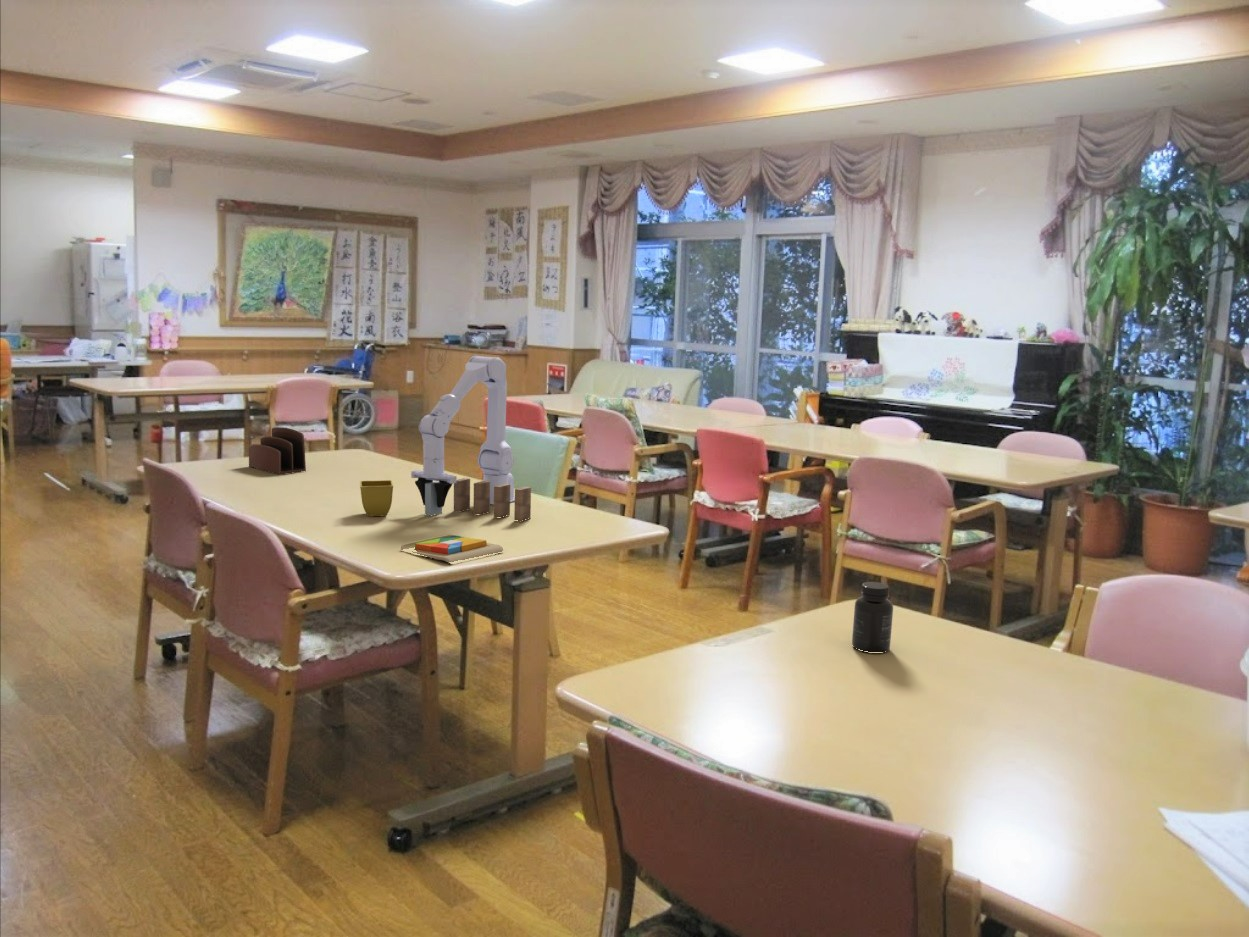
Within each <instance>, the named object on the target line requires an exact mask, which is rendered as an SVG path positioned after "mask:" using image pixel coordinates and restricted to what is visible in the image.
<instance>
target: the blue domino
mask: <svg viewBox="0 0 1249 937" xmlns="http://www.w3.org/2000/svg"><path fill="white" fill-rule="evenodd" d="M438 482H439V481H433V482H431V483H426V484H425V505H424V515H425V514H426V515H434V514H437V515H439V514H438V513H441V514H443V507H440V508H439V507H437V494H436V489H435V486H434V483H438ZM426 515H425V516H426ZM434 516H435V515H434Z"/></svg>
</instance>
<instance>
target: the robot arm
mask: <svg viewBox="0 0 1249 937" xmlns="http://www.w3.org/2000/svg"><path fill="white" fill-rule="evenodd" d="M464 366H465V367H464V368H465V369H464V370H465V371H464V372H463V374H462V375H461V376H460V378H459V380H458V381H457V382H456V384H455V386H454V387H453V389H452V390H451V392H450V393H449V394H448V393H447V394H443V395H441V396H440V397H439V401H438V402H437V404H435V406H434V407H433V409H432V410H431V411H430V413H429V414H427V415H426V414H425V415H424V416H423V417H422V418H421V420H420V422H419V424H418V430H419V432H420V434H421V440H422V442H423V443H422V447H423V449H422V450H423V451H422V453H423V456H422V457H423V458H422V459H423V460H422V461H423V465H422V466H423V468H422V469H423V470H411V471H410V472H411V473H410V475H411V479H417V480H415V481H414V484H415V485H416V487H417V489H418V491H419V493H420V497H421V500H422V505H423V506H425V484H426V483H431V482H435V481H439V482H438V483H434V486H435V489H436V494H437V507H439V508H440V507H442V508H443V507H445V503H446V499H447V495H448V494H449V491H450V489H451V487H453V485H454V483H456V482H457V480H458V478H457V475H452V474H449V473H445V435H446V434H448V432H449V430H450V424H451V422H452V419H453V418H454V417H455V415H456V414H457V413H458V411H459V410H460V409H461V407H462V404H461V401H462V400H463V399H464V398H465V396H466V395H467V394H468V393H469V392H470V391H471V390H472V388H473V387H474V386H475V385H476V384H477V383H483V384H484V385H485V386H486V387H487V388H488V390H487V417H486V439H485V440H486V441H484V442H483V443H482V444H481V446H480V452H479V454H478V457H477V465H478V467H479V468H480V469H481V473H482V474H483V480H482V481H489V482H490V505H492V506H494V486H497V485H501V484H510V503H511V502H515V479H514V476H513V474H512V473H511V470H512V469H513V467H514V456H513V449H512V447H511V446H510V445H509V444H508V443H507V441H506V426H507V425H506V423H507V422H506V421H507V398H508V397H507V396H508V379H507V364H506V363H505V362H504V360H502V358H500V357H498V356H497V357H493V356H491V357H490V356H480V355H473V356H471V357H470V358H469V360H468V361H467V363H466V364H465V365H464Z"/></svg>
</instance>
